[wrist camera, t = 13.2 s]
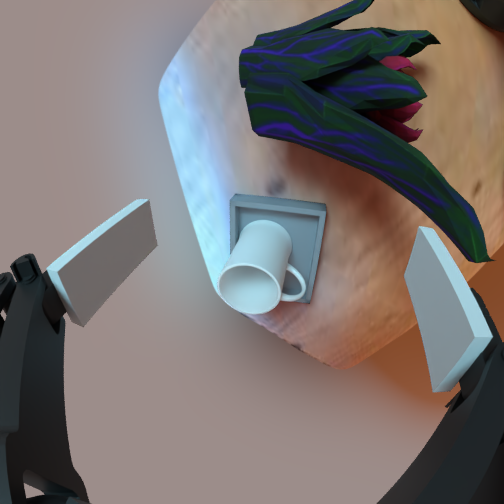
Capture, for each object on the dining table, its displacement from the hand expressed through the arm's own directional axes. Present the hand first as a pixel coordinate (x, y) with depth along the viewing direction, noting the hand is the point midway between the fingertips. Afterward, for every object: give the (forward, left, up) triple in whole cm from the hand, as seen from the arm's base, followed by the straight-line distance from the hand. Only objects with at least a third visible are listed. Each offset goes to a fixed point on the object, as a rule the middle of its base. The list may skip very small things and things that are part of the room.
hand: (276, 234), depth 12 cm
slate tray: (+3, +16, -27) cm, 32 cm away
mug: (+3, +16, -27) cm, 32 cm away
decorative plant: (-8, -9, -28) cm, 30 cm away
